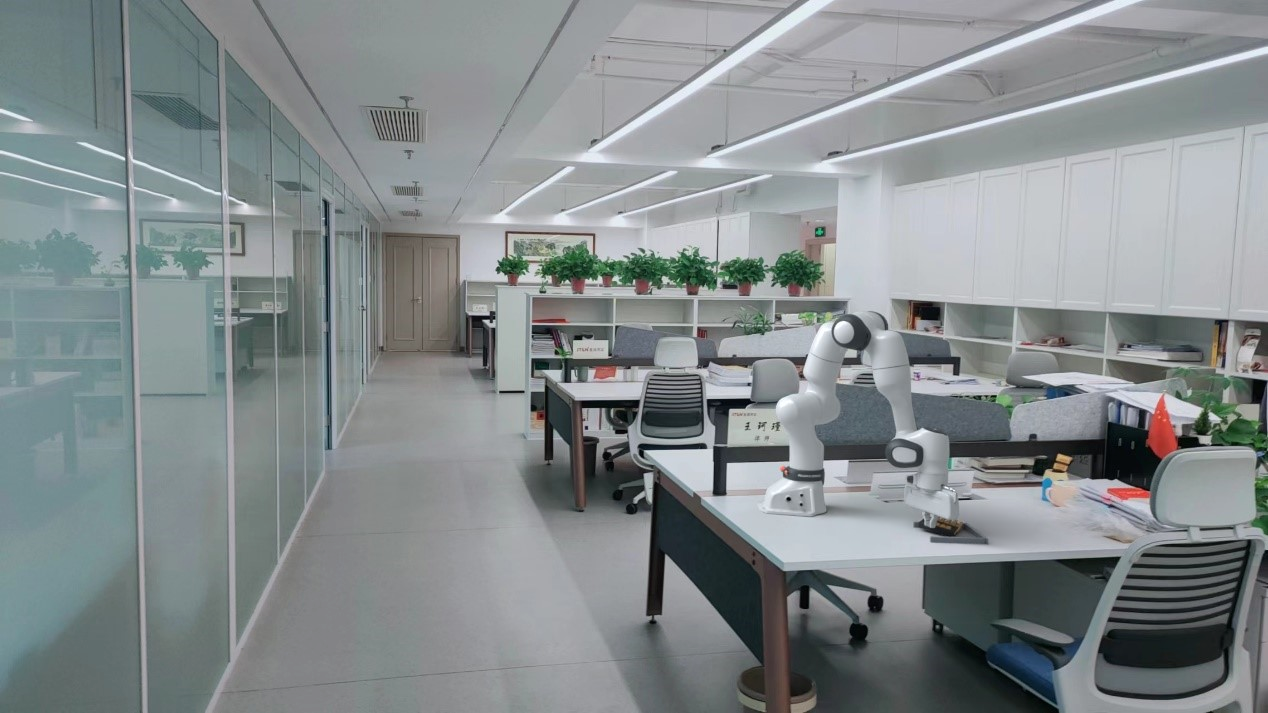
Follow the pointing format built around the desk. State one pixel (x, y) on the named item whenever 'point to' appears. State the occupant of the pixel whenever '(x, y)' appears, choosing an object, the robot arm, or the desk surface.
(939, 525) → the ammunition clip
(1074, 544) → the desk surface
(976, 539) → the grey frame
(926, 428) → the robot arm
